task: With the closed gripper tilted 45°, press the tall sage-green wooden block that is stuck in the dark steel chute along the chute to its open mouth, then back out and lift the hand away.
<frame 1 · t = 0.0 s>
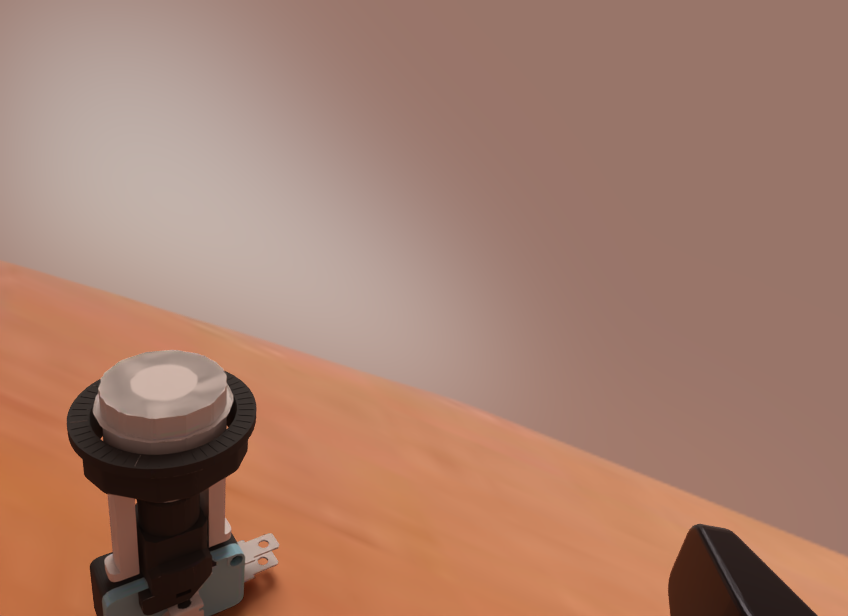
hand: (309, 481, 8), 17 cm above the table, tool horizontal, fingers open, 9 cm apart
push button: (191, 607, 25), on the table
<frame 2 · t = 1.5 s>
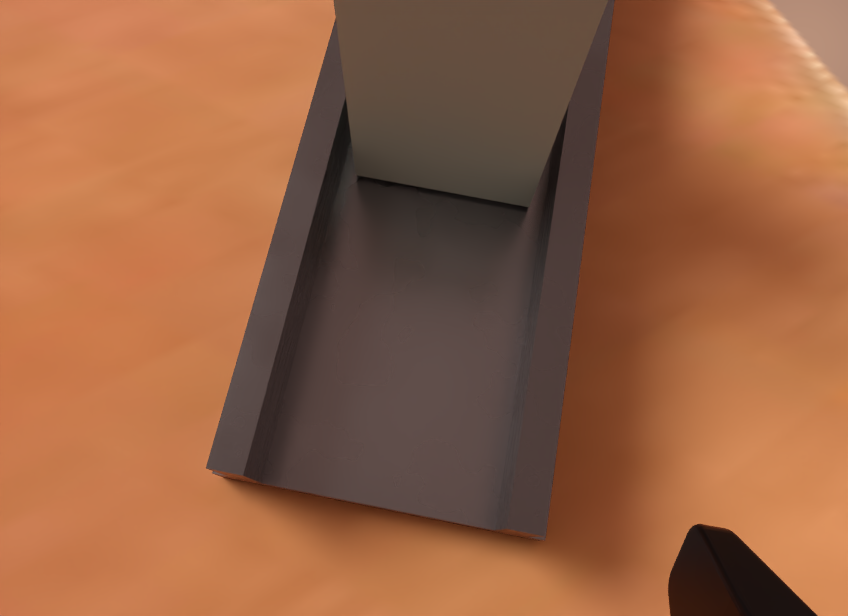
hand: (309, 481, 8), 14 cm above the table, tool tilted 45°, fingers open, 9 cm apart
steel chute: (452, 147, 25), on the table
jammed block: (467, 29, 20), point 6 cm above the table, slide at 0.0 cm
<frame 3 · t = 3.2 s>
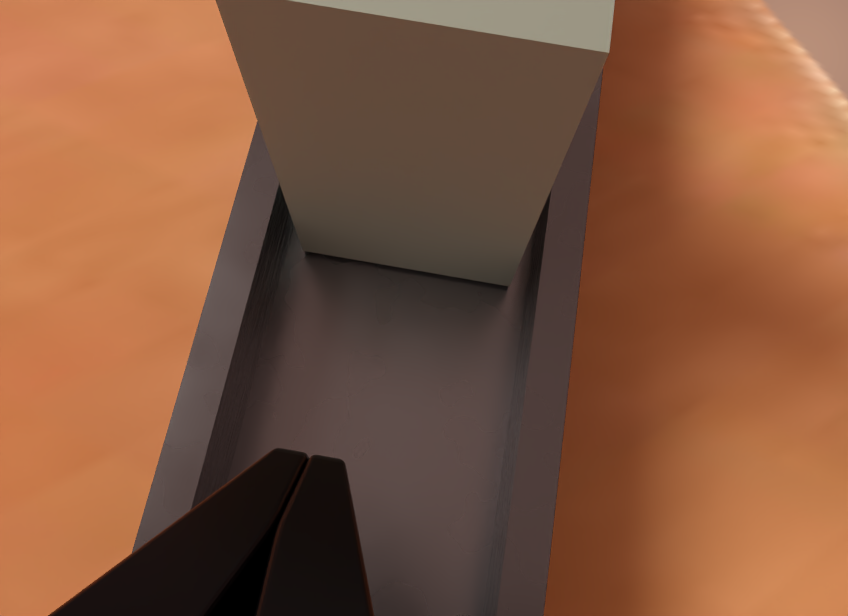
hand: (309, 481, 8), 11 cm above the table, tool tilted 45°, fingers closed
steel chute: (419, 209, 22), on the table
jammed block: (426, 87, 16), point 6 cm above the table, slide at 0.0 cm
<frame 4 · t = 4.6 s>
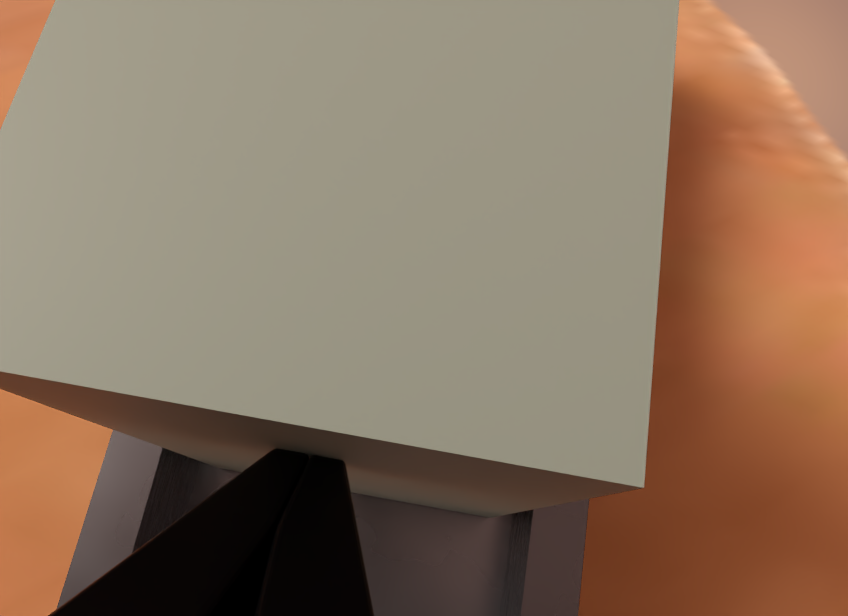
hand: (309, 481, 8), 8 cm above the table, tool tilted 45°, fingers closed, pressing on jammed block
steel chute: (375, 402, 17), on the table
jammed block: (364, 315, 11), point 6 cm above the table, slide at 0.3 cm, touching gripper
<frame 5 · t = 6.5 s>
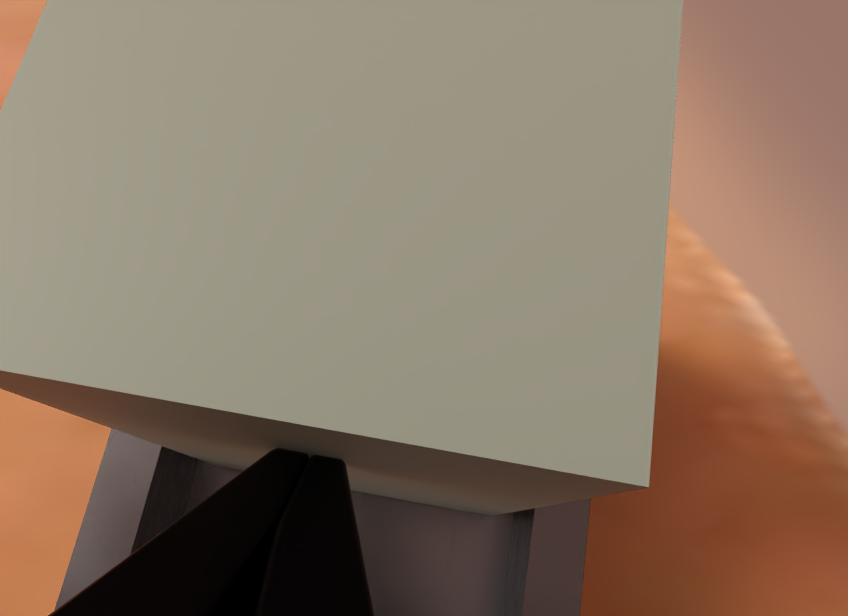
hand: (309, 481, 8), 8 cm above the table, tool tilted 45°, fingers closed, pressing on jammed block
jammed block: (364, 312, 11), point 6 cm above the table, slide at 8.4 cm, touching gripper
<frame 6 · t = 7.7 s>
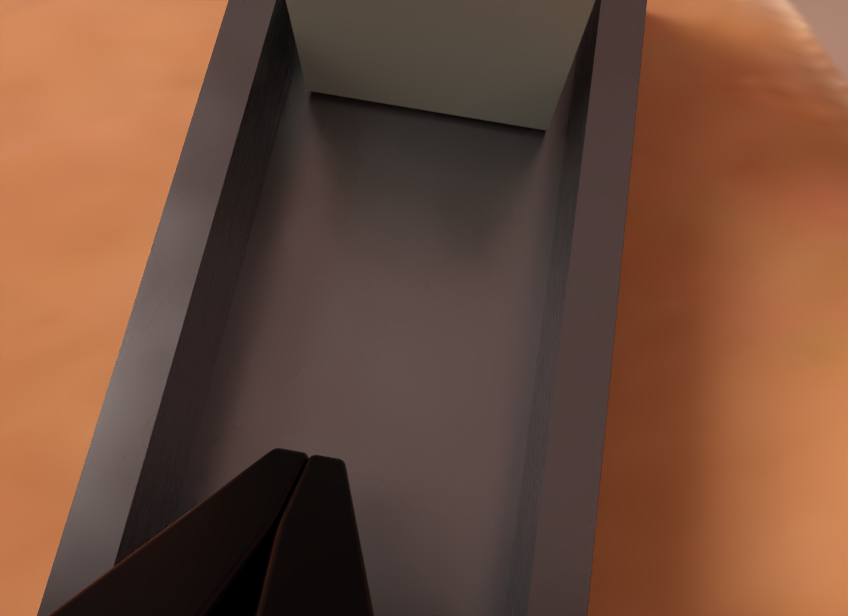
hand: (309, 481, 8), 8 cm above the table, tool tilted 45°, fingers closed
steel chute: (382, 351, 16), on the table
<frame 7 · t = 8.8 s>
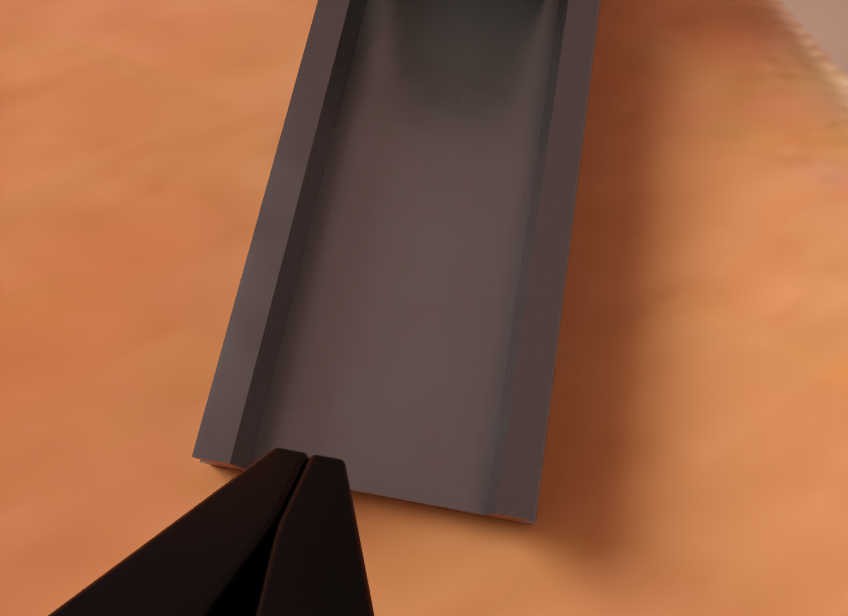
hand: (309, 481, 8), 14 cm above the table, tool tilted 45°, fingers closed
steel chute: (440, 129, 25), on the table
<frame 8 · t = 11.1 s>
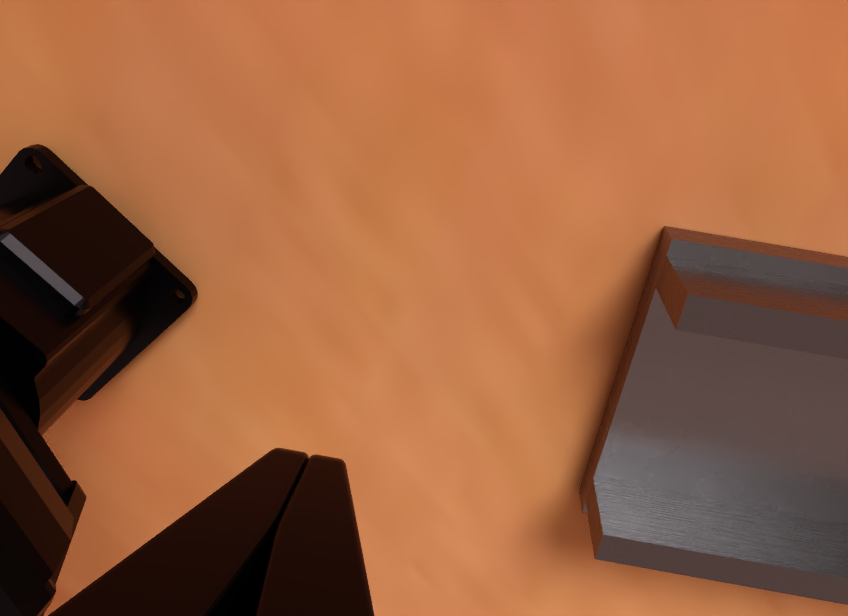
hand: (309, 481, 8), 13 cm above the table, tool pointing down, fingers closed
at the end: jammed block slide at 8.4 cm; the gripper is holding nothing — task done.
